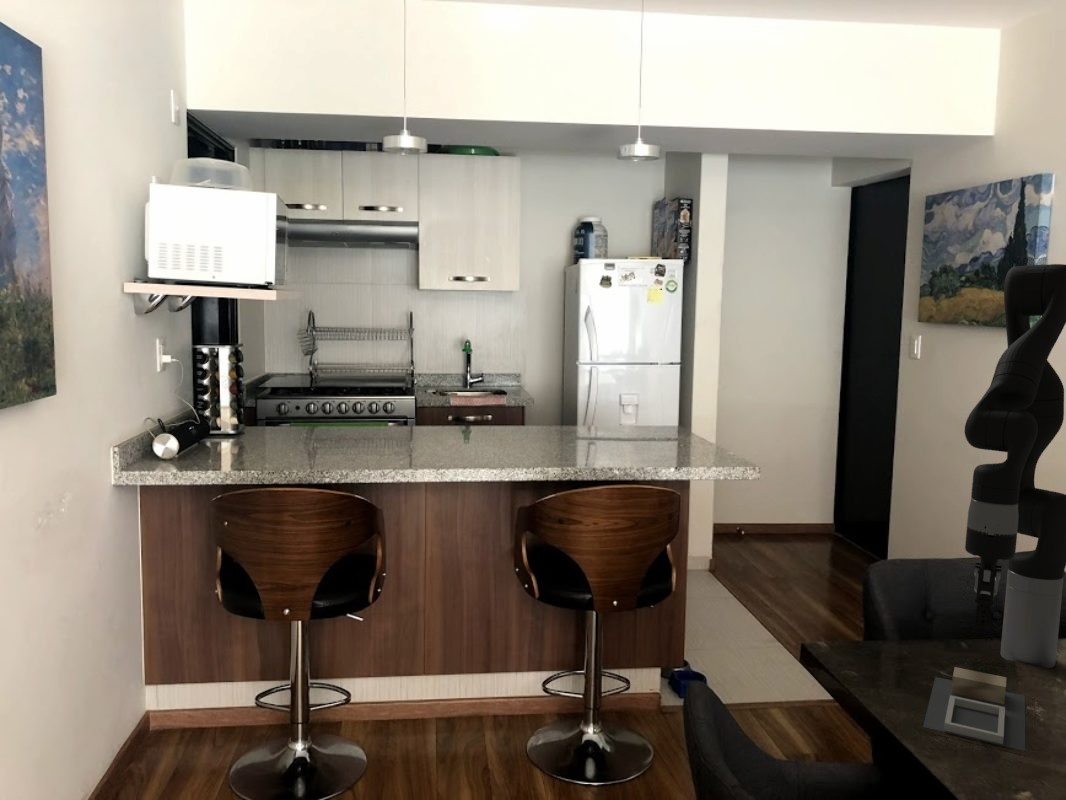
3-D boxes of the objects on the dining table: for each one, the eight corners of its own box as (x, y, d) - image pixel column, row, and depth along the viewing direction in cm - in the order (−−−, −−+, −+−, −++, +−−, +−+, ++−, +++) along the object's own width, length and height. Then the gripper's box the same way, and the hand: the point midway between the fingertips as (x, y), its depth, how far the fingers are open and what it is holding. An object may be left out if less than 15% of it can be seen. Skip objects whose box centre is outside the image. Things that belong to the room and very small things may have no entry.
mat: (934, 681, 155) (935, 676, 155) (1024, 700, 149) (1024, 695, 148) (922, 731, 136) (923, 726, 136) (1024, 756, 129) (1025, 751, 129)
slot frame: (949, 702, 145) (950, 695, 145) (1004, 714, 141) (1004, 707, 141) (943, 730, 135) (944, 723, 135) (1002, 744, 131) (1003, 736, 131)
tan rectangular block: (951, 692, 149) (952, 676, 148) (953, 683, 153) (954, 666, 152) (1004, 704, 145) (1005, 687, 145) (1004, 694, 149) (1006, 677, 149)
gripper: (969, 515, 154) (961, 604, 155) (964, 532, 142) (956, 628, 143) (1017, 522, 150) (1009, 613, 152) (1017, 539, 138) (1007, 638, 139)
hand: (983, 620), depth 147 cm, fingers open, 8 cm apart
